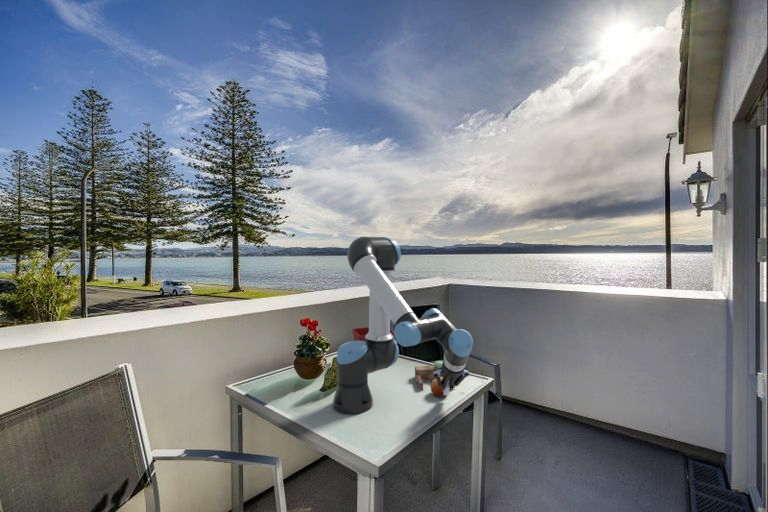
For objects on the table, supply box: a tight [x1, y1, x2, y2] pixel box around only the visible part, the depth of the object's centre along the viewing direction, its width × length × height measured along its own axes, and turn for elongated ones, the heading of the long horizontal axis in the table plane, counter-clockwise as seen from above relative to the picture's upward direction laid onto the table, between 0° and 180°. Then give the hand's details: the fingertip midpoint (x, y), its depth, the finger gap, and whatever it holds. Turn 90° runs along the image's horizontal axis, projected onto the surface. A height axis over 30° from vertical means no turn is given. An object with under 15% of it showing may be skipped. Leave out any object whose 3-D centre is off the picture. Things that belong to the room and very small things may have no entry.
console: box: [414, 365, 443, 381], centre depth 153 cm, size 15×5×5 cm, turn 92°
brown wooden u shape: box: [415, 374, 456, 391], centre depth 145 cm, size 15×10×3 cm
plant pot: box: [351, 326, 395, 342], centre depth 179 cm, size 19×19×17 cm
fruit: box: [430, 377, 450, 398], centre depth 135 cm, size 8×8×8 cm
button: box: [434, 360, 443, 369], centre depth 153 cm, size 6×6×7 cm
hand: (444, 391), depth 130 cm, fingers closed
